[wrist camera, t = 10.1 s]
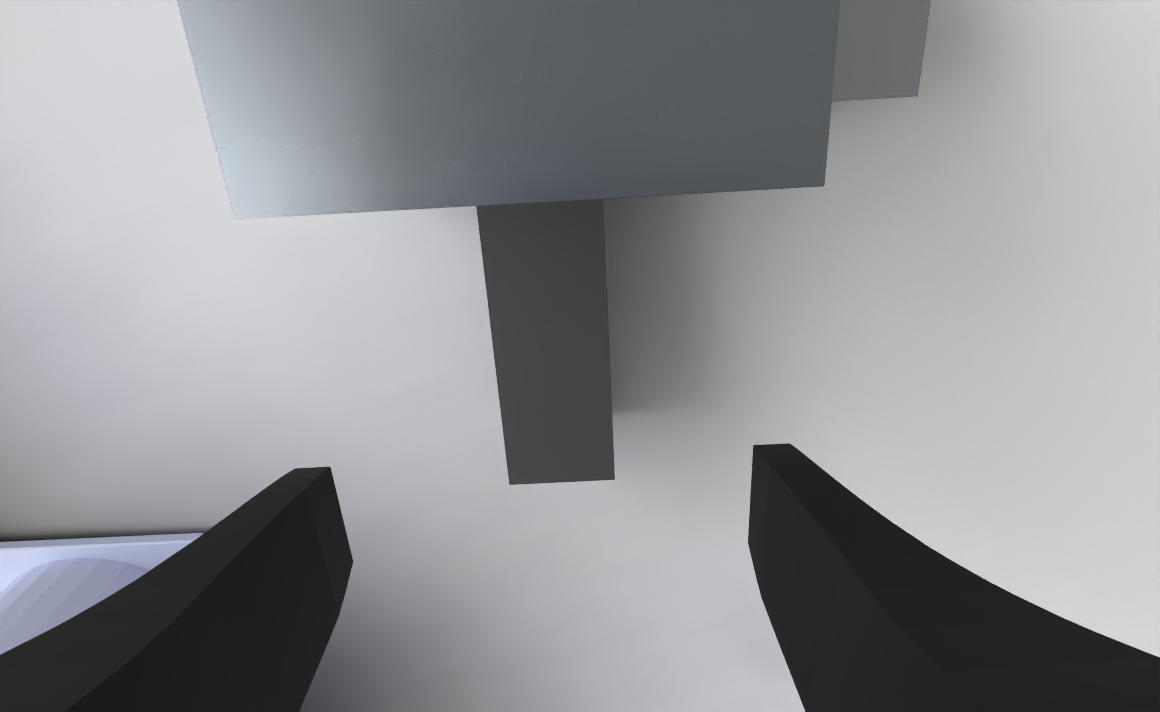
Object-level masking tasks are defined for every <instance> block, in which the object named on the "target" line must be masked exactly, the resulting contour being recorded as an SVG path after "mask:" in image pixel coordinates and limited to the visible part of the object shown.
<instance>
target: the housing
mask: <svg viewBox="0 0 1160 712" xmlns="http://www.w3.org/2000/svg"><path fill="white" fill-rule="evenodd" d="M930 1H931V0H177V3H178V6H179V10H180V14H181V18H182V22H183V25H184V29H185V33H186V37H187V41H188V44H189V48H190V52H191V56H192V59H193V63H194V67H195V71H196V75H197V78H198V82H199V86H200V90H201V94H202V97H203V101H204V105H205V109H206V113H207V116H208V120H209V124H210V128H211V132H212V135H213V139H214V143H215V147H216V151H217V154H218V158H219V162H220V166H221V169H222V173H223V177H224V181H225V185H226V188H227V192H228V196H229V200H230V204H231V207H232V211H233V215H234V219H248V218H266V217H284V216H301V215H319V214H337V213H355V212H373V211H391V210H409V209H427V208H444V207H462V206H480V205H498V204H516V203H534V202H552V201H569V200H587V199H605V198H623V197H641V196H659V195H677V194H694V193H712V192H730V191H748V190H766V189H784V188H802V187H820V186H824V182H825V170H826V159H827V148H828V136H829V125H830V114H831V102H832V101H845V100H862V99H879V98H896V97H913V96H918V89H919V82H920V74H921V67H922V60H923V52H924V45H925V38H926V30H927V23H928V16H929V8H930Z"/></svg>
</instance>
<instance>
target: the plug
mask: <svg viewBox="0 0 1160 712" xmlns="http://www.w3.org/2000/svg"><path fill="white" fill-rule="evenodd" d="M477 215H478V223H479V231H480V240H481V248H482V257H483V265H484V274H485V282H486V290H487V299H488V307H489V316H490V324H491V333H492V341H493V349H494V358H495V366H496V375H497V383H498V392H499V400H500V408H501V417H502V425H503V434H504V442H505V451H506V459H507V467H508V476H509V484H510V485H514V484H534V483H555V482H576V481H596V480H615V473H614V450H613V427H612V404H611V381H610V358H609V335H608V312H607V288H606V265H605V242H604V219H603V199H587V200H569V201H552V202H534V203H516V204H498V205H480V206H477Z"/></svg>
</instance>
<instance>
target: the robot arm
mask: <svg viewBox="0 0 1160 712" xmlns="http://www.w3.org/2000/svg"><path fill="white" fill-rule="evenodd" d="M748 544H749V549H750V553H751V557H752V561H753V566H754V570H755V574H756V578H757V582H758V586H759V590H760V594H761V597H762V600H763V602H764V605H765V608H766V611H767V613H768V616H769V618H770V621H771V624H772V626H773V629H774V632H775V634H776V637H777V639H778V642H779V645H780V647H781V650H782V652H783V655H784V657H785V660H786V663H787V665H788V668H789V670H790V673H791V675H792V678H793V681H794V683H795V686H796V688H797V691H798V694H799V696H800V699H801V701H802V704H803V706H804V709H805V712H1160V657H1157V656H1154V655H1152V654H1149V653H1146V652H1144V651H1141V650H1139V649H1136V648H1134V647H1131V646H1129V645H1126V644H1124V643H1121V642H1119V641H1116V640H1114V639H1111V638H1109V637H1106V636H1104V635H1101V634H1099V633H1096V632H1094V631H1092V630H1089V629H1087V628H1085V627H1082V626H1080V625H1078V624H1076V623H1073V622H1071V621H1069V620H1066V619H1064V618H1062V617H1060V616H1057V615H1055V614H1053V613H1051V612H1049V611H1047V610H1045V609H1043V608H1041V607H1039V606H1036V605H1034V604H1032V603H1030V602H1028V601H1026V600H1024V599H1022V598H1020V597H1018V596H1016V595H1014V594H1011V593H1010V592H1008V591H1006V590H1004V589H1002V588H1000V587H998V586H996V585H994V584H992V583H990V582H988V581H987V580H985V579H983V578H981V577H979V576H978V575H976V574H974V573H972V572H971V571H969V570H967V569H965V568H964V567H962V566H960V565H958V564H957V563H955V562H953V561H951V560H950V559H948V558H946V557H944V556H943V555H941V554H940V553H938V552H936V551H935V550H933V549H931V548H930V547H928V546H927V545H925V544H924V543H922V542H921V541H919V540H918V539H916V538H915V537H913V536H912V535H910V534H909V533H907V532H906V531H904V530H903V529H901V528H900V527H898V526H897V525H895V524H894V523H892V522H891V521H890V520H888V519H887V518H885V517H884V516H883V515H881V514H880V513H878V512H877V511H876V510H874V509H873V508H872V507H870V506H869V505H867V504H866V503H865V502H863V501H862V500H861V499H860V498H858V497H857V496H856V495H854V494H853V493H852V492H850V491H849V490H848V489H847V488H845V487H844V486H843V485H841V484H840V483H839V482H838V481H836V480H835V479H834V478H833V477H831V476H830V475H829V474H828V473H826V472H825V471H824V470H823V469H821V468H820V467H819V466H818V465H817V464H815V463H814V462H813V461H812V460H810V459H809V458H808V457H807V456H805V455H804V454H803V453H802V452H800V451H799V450H798V449H797V448H795V447H794V446H792V445H791V444H790V443H789V444H769V445H753V461H752V480H751V498H750V517H749V535H748ZM352 564H353V559H352V555H351V551H350V547H349V543H348V538H347V534H346V530H345V526H344V522H343V518H342V513H341V509H340V505H339V501H338V497H337V493H336V488H335V484H334V480H333V476H332V472H331V468H330V467H317V468H297V469H294V470H292V471H290V472H289V473H287V474H285V475H284V476H282V477H281V478H279V479H278V480H277V481H275V482H274V483H272V484H271V485H270V486H268V487H267V488H265V489H264V490H263V491H261V492H260V493H258V494H257V495H256V496H254V497H253V498H252V499H250V500H249V501H248V502H246V503H245V504H244V505H242V506H241V507H239V508H238V509H237V510H235V511H234V512H233V513H231V514H230V515H229V516H227V517H226V518H224V519H223V520H222V521H220V522H219V523H218V524H216V525H215V526H213V527H212V528H211V529H209V530H208V531H207V532H205V533H188V534H166V535H144V536H122V537H100V538H78V539H56V540H35V541H13V542H0V712H299V710H300V708H301V705H302V703H303V701H304V698H305V696H306V693H307V691H308V689H309V686H310V684H311V682H312V679H313V677H314V675H315V672H316V670H317V668H318V665H319V663H320V660H321V658H322V656H323V653H324V651H325V648H326V646H327V644H328V641H329V639H330V636H331V634H332V631H333V629H334V627H335V624H336V622H337V619H338V617H339V613H340V610H341V606H342V603H343V599H344V596H345V592H346V588H347V584H348V580H349V576H350V572H351V568H352Z"/></svg>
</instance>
